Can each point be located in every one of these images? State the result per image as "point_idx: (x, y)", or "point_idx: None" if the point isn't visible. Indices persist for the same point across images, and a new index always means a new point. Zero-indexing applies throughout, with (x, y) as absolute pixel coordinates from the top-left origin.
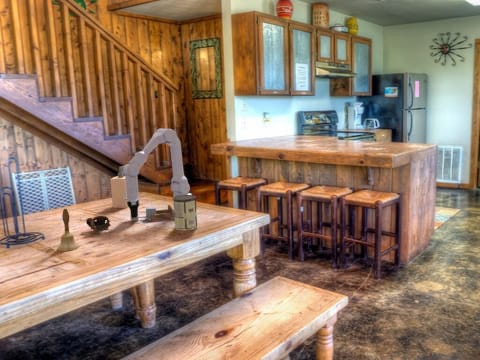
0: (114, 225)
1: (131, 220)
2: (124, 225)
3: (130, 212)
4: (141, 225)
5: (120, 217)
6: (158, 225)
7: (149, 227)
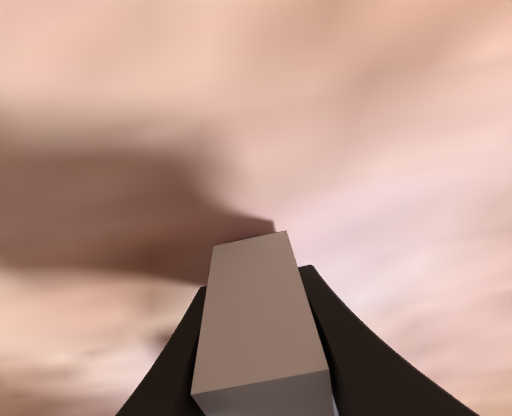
0: (29, 64)
1: (214, 252)
2: (57, 202)
3: (280, 301)
4: (84, 335)
5: (478, 63)
6: (99, 412)
7: (37, 384)
